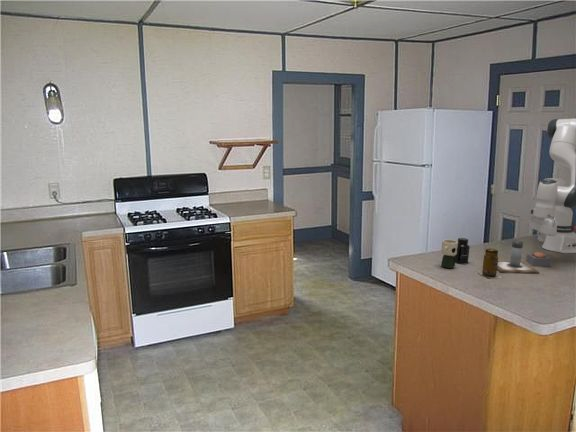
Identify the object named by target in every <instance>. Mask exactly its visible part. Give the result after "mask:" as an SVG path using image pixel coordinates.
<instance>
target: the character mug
mask: <svg viewBox="0 0 576 432" xmlns="http://www.w3.org/2000/svg"><path fill="white" fill-rule="evenodd" d="M457 247H458V240H455V239H447V238H446V239H443V240H441V252H440V253H441V255H442V259H441V265H440V266H441V267H443V268H446V269H454V268H455V267H456V263H455V259H454V255H456V254H457Z"/></svg>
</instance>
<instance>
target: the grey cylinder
mask: <svg viewBox="0 0 576 432" xmlns="http://www.w3.org/2000/svg"><path fill="white" fill-rule="evenodd" d="M523 246H524V241H522V240H518V239H517V240H516V239H515V240H514V239H513V240H511V253H510V259H509V260H510V266H513V267H520V262H522V261H521V260H522V252H523Z"/></svg>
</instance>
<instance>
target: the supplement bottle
mask: <svg viewBox="0 0 576 432" xmlns="http://www.w3.org/2000/svg"><path fill="white" fill-rule="evenodd" d="M457 242H458V247H457V254H456V255H454V259H455V264H460V265H467V264H468V263H469V258H470V257H469V256H470V248H471V247H470V245H469V239H468V238H464V237H459V238H457Z"/></svg>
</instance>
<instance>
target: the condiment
mask: <svg viewBox="0 0 576 432" xmlns="http://www.w3.org/2000/svg"><path fill="white" fill-rule="evenodd" d="M498 255H499V251H498V249H496V248H486V249H485V251H484V254H483V264H482V271H481V272H478V275H481V276H483V277H485V278H487V279H503V278H504V277H503V276H501V275H499V274H498V273H497V272H498V271H497V265H498V261H499V256H498Z"/></svg>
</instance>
